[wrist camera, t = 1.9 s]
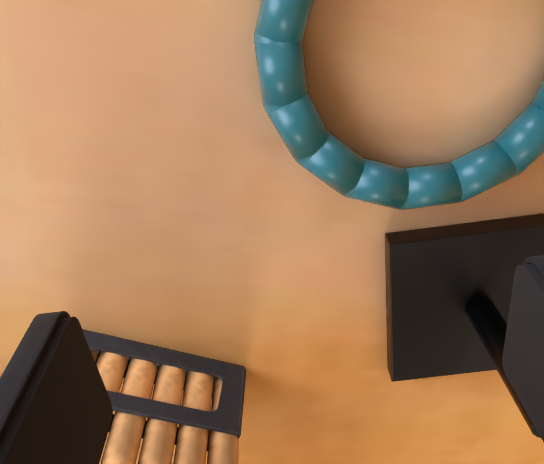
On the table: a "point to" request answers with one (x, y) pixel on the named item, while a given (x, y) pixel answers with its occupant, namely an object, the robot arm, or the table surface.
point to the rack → (455, 296)
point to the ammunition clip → (168, 403)
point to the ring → (348, 164)
